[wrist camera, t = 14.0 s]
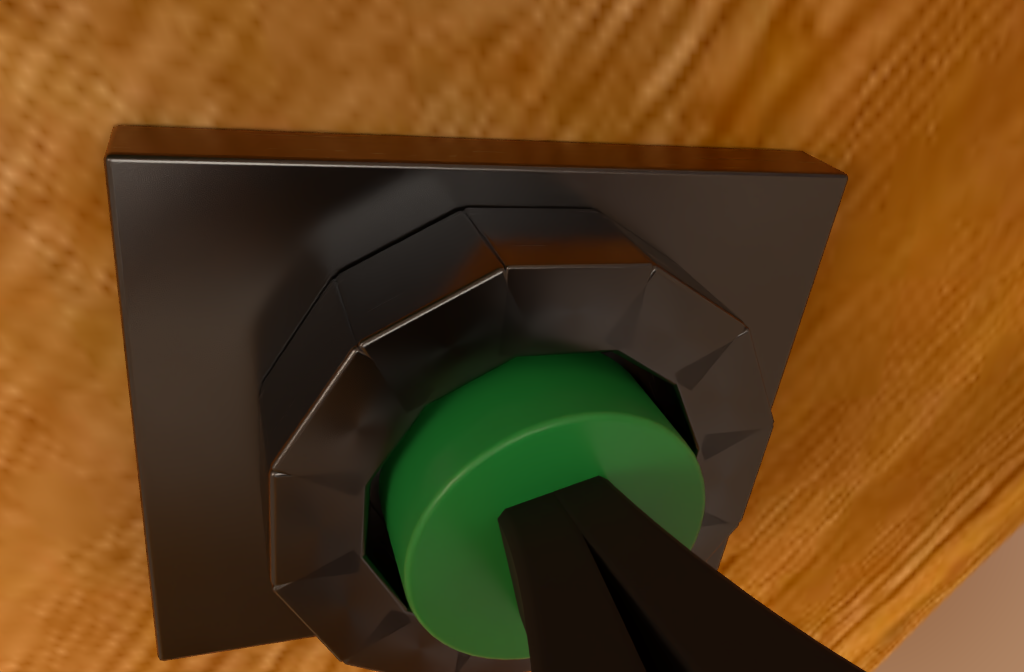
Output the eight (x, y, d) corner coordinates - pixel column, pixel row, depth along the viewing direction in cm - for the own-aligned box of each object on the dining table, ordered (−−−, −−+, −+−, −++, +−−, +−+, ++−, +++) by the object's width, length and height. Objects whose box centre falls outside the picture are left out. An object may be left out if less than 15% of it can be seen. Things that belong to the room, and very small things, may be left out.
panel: (803, 149, 13) (941, 220, 11) (688, 530, 17) (771, 647, 15) (110, 123, 10) (83, 217, 7) (160, 604, 14) (152, 772, 11)
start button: (674, 332, 11) (742, 402, 10) (619, 550, 13) (670, 635, 12) (385, 346, 10) (418, 429, 9) (370, 586, 12) (394, 686, 11)
